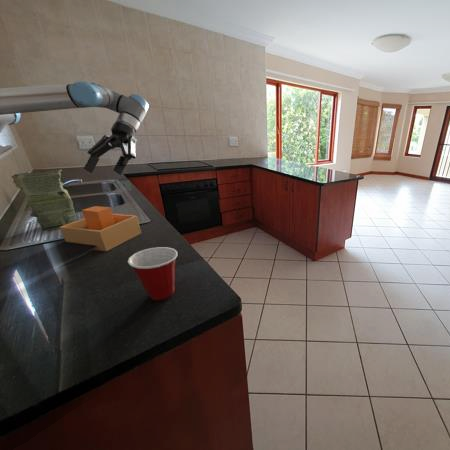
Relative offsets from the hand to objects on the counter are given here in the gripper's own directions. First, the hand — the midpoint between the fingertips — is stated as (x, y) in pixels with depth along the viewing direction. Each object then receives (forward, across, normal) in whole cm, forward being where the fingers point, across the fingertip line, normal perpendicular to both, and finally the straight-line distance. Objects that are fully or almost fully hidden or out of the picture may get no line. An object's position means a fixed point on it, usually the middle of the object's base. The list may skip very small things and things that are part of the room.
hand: (102, 171), depth 89 cm
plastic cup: (+39, -45, +3) cm, 60 cm away
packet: (+22, 0, -12) cm, 25 cm away
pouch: (+20, +28, -16) cm, 38 cm away
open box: (+23, 0, -13) cm, 26 cm away
